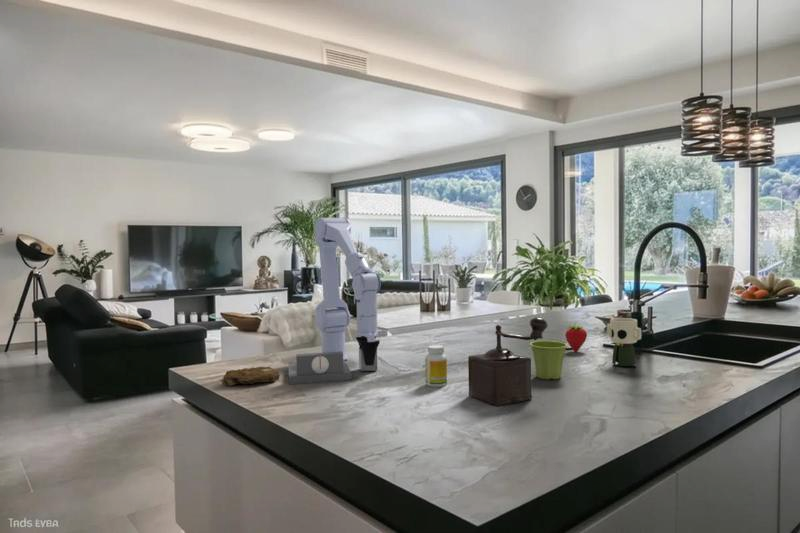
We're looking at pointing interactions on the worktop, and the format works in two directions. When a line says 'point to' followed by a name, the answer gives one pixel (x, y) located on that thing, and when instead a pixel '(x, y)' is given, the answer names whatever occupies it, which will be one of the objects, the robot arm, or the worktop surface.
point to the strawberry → (576, 337)
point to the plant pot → (548, 358)
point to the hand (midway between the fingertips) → (368, 363)
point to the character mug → (623, 340)
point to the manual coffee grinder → (503, 371)
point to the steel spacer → (362, 362)
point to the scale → (318, 368)
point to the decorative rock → (250, 376)
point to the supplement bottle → (436, 366)
